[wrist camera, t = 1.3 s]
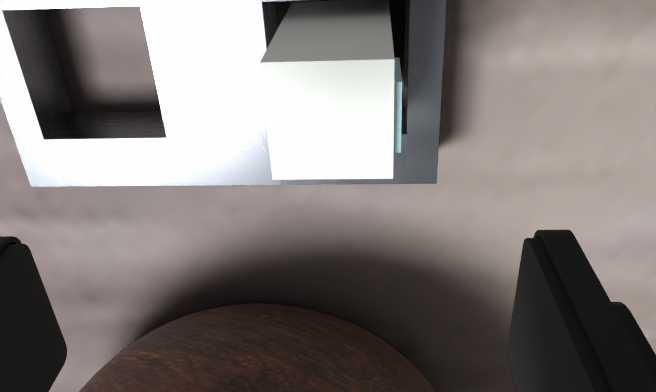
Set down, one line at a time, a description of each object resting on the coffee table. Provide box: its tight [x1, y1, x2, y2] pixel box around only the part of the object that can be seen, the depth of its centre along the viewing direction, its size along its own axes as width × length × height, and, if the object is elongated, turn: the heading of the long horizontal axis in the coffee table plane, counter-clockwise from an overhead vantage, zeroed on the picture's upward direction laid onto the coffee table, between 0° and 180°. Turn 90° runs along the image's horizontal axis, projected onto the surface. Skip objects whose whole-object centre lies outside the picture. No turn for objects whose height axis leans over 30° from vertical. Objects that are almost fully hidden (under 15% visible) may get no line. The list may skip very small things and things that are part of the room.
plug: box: [260, 0, 402, 180], centre depth 22 cm, size 4×4×8 cm
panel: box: [0, 0, 447, 187], centre depth 24 cm, size 18×10×3 cm, turn 93°
